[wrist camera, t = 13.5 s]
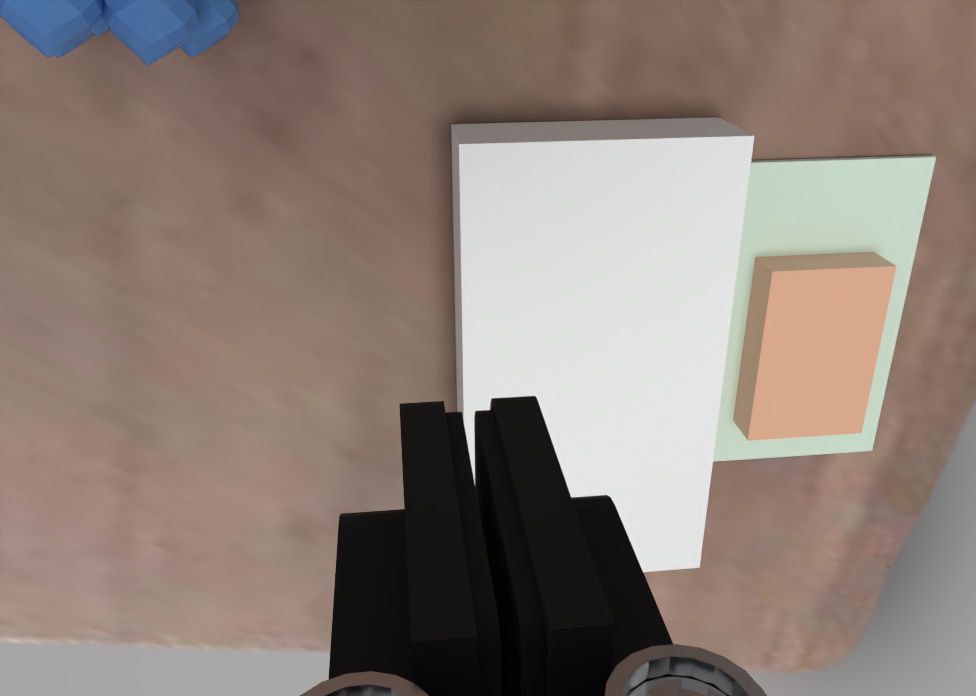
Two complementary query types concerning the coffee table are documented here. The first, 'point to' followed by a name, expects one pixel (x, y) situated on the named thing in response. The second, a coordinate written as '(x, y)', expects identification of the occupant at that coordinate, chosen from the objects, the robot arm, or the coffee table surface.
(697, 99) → the coffee table surface
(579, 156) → the white flat block
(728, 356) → the mat
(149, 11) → the grapes
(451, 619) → the robot arm
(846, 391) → the tile
